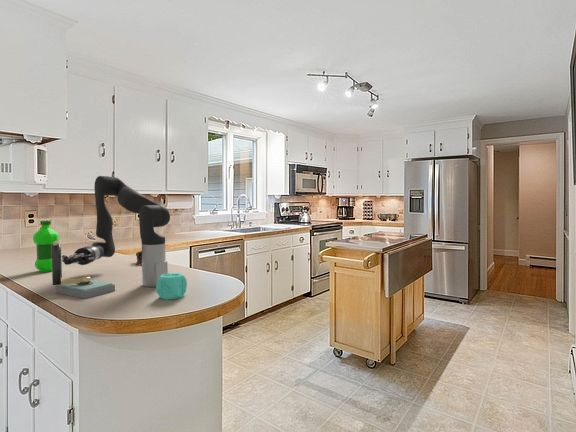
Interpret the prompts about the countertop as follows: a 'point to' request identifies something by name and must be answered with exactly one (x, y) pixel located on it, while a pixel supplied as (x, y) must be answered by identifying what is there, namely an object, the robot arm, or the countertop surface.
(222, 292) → the countertop surface
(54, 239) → the plastic bottle
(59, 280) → the t key
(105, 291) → the plate
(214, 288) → the countertop surface
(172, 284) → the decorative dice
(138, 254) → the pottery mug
